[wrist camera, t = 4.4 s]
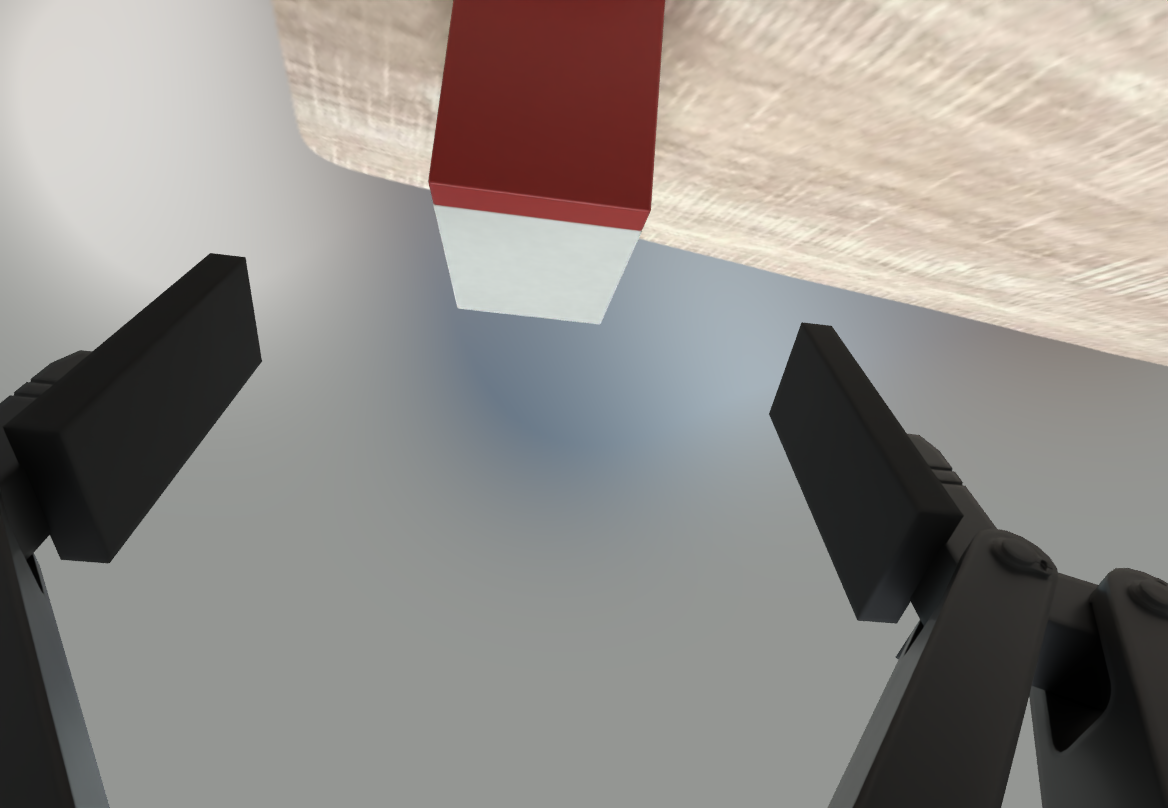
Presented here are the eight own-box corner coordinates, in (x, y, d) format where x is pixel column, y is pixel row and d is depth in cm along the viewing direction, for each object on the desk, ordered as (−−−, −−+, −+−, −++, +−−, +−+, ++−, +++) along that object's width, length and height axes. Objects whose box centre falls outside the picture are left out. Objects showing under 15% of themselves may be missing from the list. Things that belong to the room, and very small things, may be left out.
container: (612, 176, 34) (600, 324, 33) (476, 158, 34) (457, 308, 32) (665, -6, 23) (651, 211, 21) (458, -39, 22) (427, 182, 20)
